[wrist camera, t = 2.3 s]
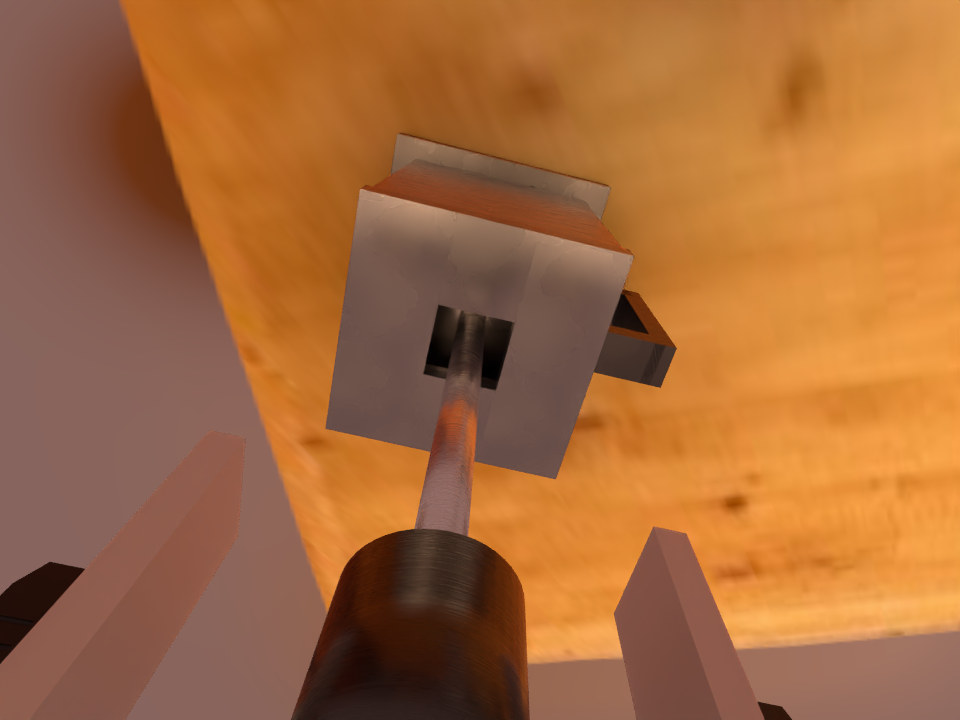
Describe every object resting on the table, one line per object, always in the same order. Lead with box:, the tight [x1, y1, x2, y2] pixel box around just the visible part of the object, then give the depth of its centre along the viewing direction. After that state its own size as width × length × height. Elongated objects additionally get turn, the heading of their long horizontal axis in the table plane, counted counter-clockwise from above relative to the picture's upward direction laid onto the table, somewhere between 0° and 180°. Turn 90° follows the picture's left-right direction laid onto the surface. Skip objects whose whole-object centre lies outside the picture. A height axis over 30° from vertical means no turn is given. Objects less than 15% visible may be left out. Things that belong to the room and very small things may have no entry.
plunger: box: [291, 305, 530, 720], centre depth 16 cm, size 8×8×22 cm
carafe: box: [326, 133, 677, 479], centre depth 29 cm, size 15×12×14 cm
